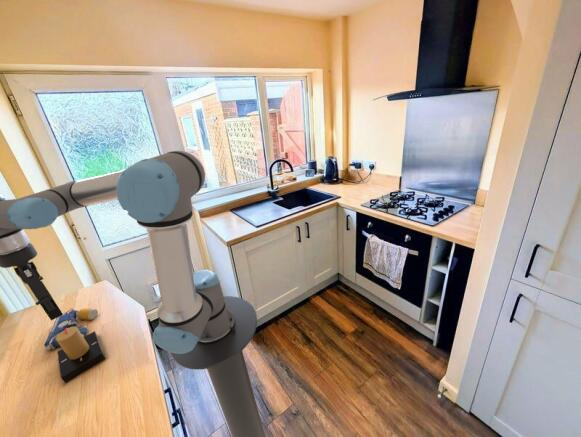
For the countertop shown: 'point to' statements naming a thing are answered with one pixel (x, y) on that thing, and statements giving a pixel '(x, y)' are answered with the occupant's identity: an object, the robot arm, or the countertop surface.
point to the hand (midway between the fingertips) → (51, 307)
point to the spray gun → (69, 324)
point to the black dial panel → (81, 359)
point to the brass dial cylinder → (72, 342)
